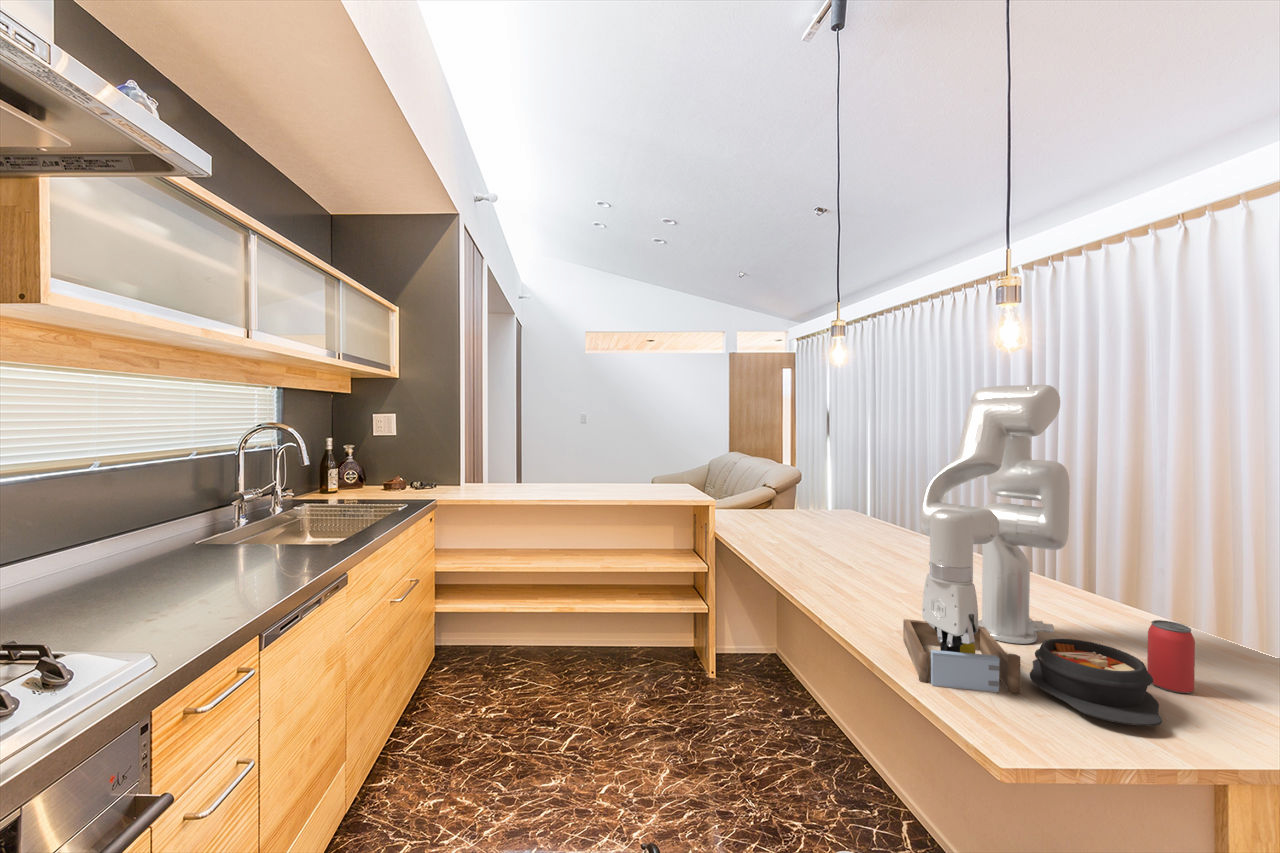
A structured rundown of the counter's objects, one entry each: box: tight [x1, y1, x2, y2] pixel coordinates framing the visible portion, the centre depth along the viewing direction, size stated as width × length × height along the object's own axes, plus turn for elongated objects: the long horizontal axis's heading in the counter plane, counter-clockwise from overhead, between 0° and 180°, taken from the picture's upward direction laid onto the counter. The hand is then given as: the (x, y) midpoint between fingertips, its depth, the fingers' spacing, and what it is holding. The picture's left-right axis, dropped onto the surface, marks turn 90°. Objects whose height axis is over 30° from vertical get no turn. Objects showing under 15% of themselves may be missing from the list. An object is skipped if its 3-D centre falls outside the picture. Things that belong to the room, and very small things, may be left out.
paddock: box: [902, 618, 1021, 696], centre depth 115 cm, size 17×22×7 cm
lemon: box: [960, 643, 976, 654], centre depth 114 cm, size 6×6×8 cm
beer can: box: [1146, 619, 1196, 694], centre depth 106 cm, size 7×7×12 cm
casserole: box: [1029, 638, 1163, 727], centre depth 102 cm, size 25×19×8 cm
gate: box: [930, 649, 1000, 693], centre depth 106 cm, size 12×1×6 cm, turn 77°
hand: (950, 663), depth 109 cm, fingers closed
